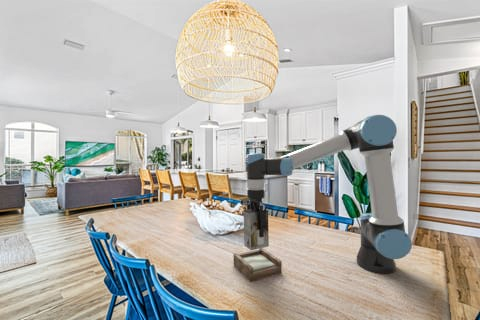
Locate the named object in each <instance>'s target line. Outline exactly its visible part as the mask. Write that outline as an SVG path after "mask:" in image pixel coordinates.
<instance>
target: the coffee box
mask: <svg viewBox="0 0 480 320" xmlns="http://www.w3.org/2000/svg"><path fill="white" fill-rule="evenodd" d="M257 214H260V210H259V211H258V212H255V211H254V210H253V209H247V208H246V209H243V245H244V247H245V248H247V249H248V250H249V251H255V250H259V249H260V248H263V249H264V248H267V247H269V246H270V245H269V244H270V243H269V241H270V238H269V209H266V219H267V229H264V244H261V245H257V229H258V224H257Z"/></svg>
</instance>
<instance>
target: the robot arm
mask: <svg viewBox="0 0 480 320" xmlns="http://www.w3.org/2000/svg"><path fill="white" fill-rule="evenodd" d="M396 136H397V125H396V123H395V121H394V120H393V119H392V118H391V117H389V116H387V115H384V114H373V115H369V116H367V117H365V118H364V119H362V120H359V121H358V122H356V123H355V124H354V125H352V126H350V127H347V128H346V129H344V130H341V131H340V133H339V134H337V135H334V136H332V137H329V138H327V139H324V140H322V141H319V142H315V143H314V144H310V145H308V146H306V147H303V148H301V149H298V150H295V151H293V152H290V153H287V154H284V155H282V156H279V157H266V156H265V153H249V154H248V155H247V159H246V161H247V162H246V171H247V172H246V173H247V174H246V177H247V178H246V187H247V190H246V192H247V195H246V197H247V198H248V199H249V200H246V209H253V210H254V211H255V212H258V211H259V210H260V214H257V224H258V229H257V245H261V244H264V229H267V219H266V210H267V206H268V205H267V204H264V203H263V202H264V201H263V199H265V196H266V195H265V194H266V193H265V176H284V177H286V176H292V175H293V173H294V172H293V170H294V169H297V168H300V167H303V166H305V165H308V164H311V163H313V162H316V161H320V160H321V159H322V160H323V159H324V158H327V157H330V156H333V155H335V154H338V153H341V152H344V151H349V152H350V151H352V150H357V149H358V150H359V154H361V155H363V156H364V161H365V171H366V178H367V186H368V193H369V200H370V209H371V212H367V213H361V215H360V220H359V222H360V248H359V250H358V253H357V255H356V264H357V265H358V266H359V267H361V268H362V269H364V270H366V271H369V272H371V273H372V272H374V273H376V274H377V273H378V274H393V273H394V272H396V270H397V263H396V261H395V260H399V259H403V258H404V257H406V256H407V255H408V254H410V252H411V250H412V248H413V242H412V239H411V237H410V236H409V234H408V233H407V232H406V230H405V221H404V219H403V218H402V217H401V216H399V213H398V212H399V211H398V205H397V197H396V191H395V183H394V176H393V175H394V174H393V167H392V161H391V153H392V151H394V149H395V146H394V140H395V138H396Z"/></svg>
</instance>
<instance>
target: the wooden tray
mask: <svg viewBox="0 0 480 320" xmlns="http://www.w3.org/2000/svg"><path fill="white" fill-rule="evenodd" d="M282 265H283V264H282V260H281V259H279V258H278V257H276V256H275V255H274V254H272V253H270V252H269V251H267V250H266V249H264V248H260V249H255V250H249V251H246V252H241V253H237V252H236V253H233V266H234V267H235V268H236V269H237V270H238V271H239V272H240V273H241V274H242V275H243V276H244V278H246V280H247V281H249V282H250V283H252V282H255V281H258V280H262V279H267V278H269V277H270V278H271V277H273V276H277V275H280V274H283V273H282V272H283V271H282V270H283V269H282V268H283V267H282Z"/></svg>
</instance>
